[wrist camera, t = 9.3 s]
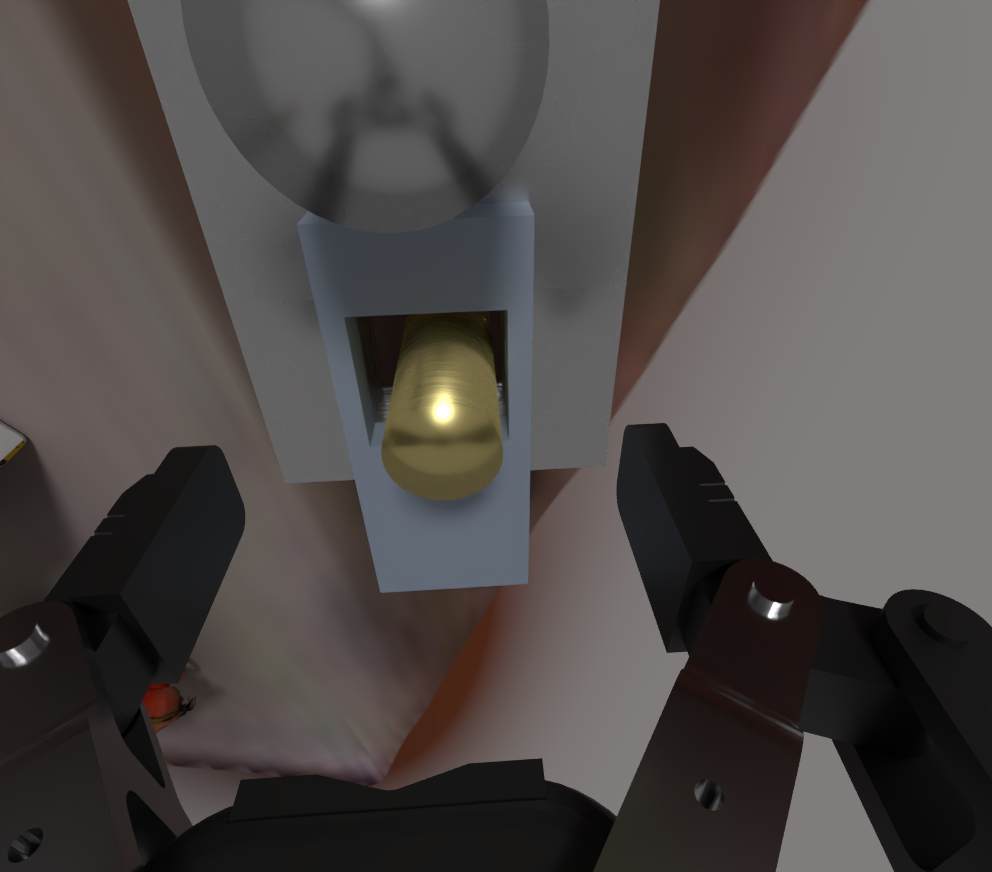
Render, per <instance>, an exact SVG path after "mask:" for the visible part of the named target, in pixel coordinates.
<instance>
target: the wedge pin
mask: <svg viewBox="0 0 992 872" xmlns="http://www.w3.org/2000/svg"><path fill="white" fill-rule="evenodd" d="M381 456H382V462H383V465H384V467H385V470H386V471H387V473H388V475H389V476H390V477H391V479H392V480H393V481H394V482H395V483H396V484H397V485H399V486H400V487H401V488H403V489H404V490H406V491H408V492H409V493H411V494H414V495H416V496H419V497H422V498H426V499H431V500H456V499H461V498H464V497H468V496H470V495H473V494H475V493H477V492H479V491H480V490H482V489H483V488H485V487H486V486H487V485H488V484H490V483H491V482H492V481H493V479H494V478H495V477H496V475H497V474H498V472H499V470H500V468H501V465H502V461H503V444H502V434H501V424H500V414H499V403H498V393H497V383H496V373H495V363H494V352H493V342H492V332H491V322H490V312H489V311H471V312H449V313H427V314H407V316H406V321H405V327H404V332H403V337H402V342H401V348H400V353H399V358H398V363H397V368H396V374H395V379H394V384H393V389H392V394H391V400H390V405H389V410H388V415H387V420H386V426H385V431H384V436H383V441H382V447H381Z"/></svg>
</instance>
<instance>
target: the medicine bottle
mask: <svg viewBox="0 0 992 872" xmlns="http://www.w3.org/2000/svg"><path fill="white" fill-rule="evenodd" d="M25 443H26V438H25V436H24V435H23V434H21V433H19V432H18V431H16V430H14V429H13V428H11V427H9V426H8V425H6V424H4V423H3V422H1V421H0V469H1V468H2V467H3V466H4V465H5V464H6V463H7V462H8V461H9V460H10V459H11V458H12V457H13V456H14V455H15V454H16V453H17V452H18V451H19V450H20V449H21V448H22V447H23V446H24V445H25Z"/></svg>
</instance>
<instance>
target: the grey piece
mask: <svg viewBox="0 0 992 872" xmlns="http://www.w3.org/2000/svg"><path fill="white" fill-rule="evenodd" d="M128 3H129V7H130V10H131V13H132V16H133V19H134V22H135V25H136V28H137V31H138V34H139V37H140V40H141V43H142V46H143V49H144V53H145V56H146V59H147V62H148V65H149V68H150V71H151V74H152V77H153V80H154V83H155V86H156V89H157V92H158V95H159V98H160V102H161V105H162V108H163V111H164V114H165V117H166V120H167V123H168V126H169V129H170V132H171V135H172V138H173V141H174V144H175V148H176V151H177V154H178V157H179V160H180V163H181V166H182V169H183V172H184V175H185V178H186V181H187V184H188V187H189V190H190V193H191V197H192V200H193V203H194V206H195V209H196V212H197V215H198V218H199V221H200V224H201V227H202V230H203V233H204V236H205V239H206V243H207V246H208V249H209V252H210V255H211V258H212V261H213V264H214V267H215V270H216V273H217V276H218V279H219V282H220V285H221V288H222V292H223V295H224V298H225V301H226V304H227V307H228V310H229V313H230V316H231V319H232V322H233V325H234V328H235V331H236V334H237V338H238V341H239V344H240V347H241V350H242V353H243V356H244V359H245V362H246V365H247V368H248V371H249V374H250V377H251V380H252V383H253V387H254V390H255V393H256V396H257V399H258V402H259V405H260V408H261V411H262V414H263V417H264V420H265V423H266V426H267V429H268V433H269V436H270V439H271V442H272V445H273V448H274V451H275V454H276V457H277V460H278V463H279V466H280V469H281V472H282V475H283V478H284V482H285V483H304V482H322V481H341V480H355V478H354V474H353V470H352V465H351V461H350V456H349V452H348V448H347V443H346V439H345V435H344V430H343V426H342V421H341V417H340V413H339V408H338V404H337V399H336V395H335V391H334V386H333V382H332V377H331V373H330V369H329V364H328V360H327V355H326V351H325V347H324V342H323V338H322V333H321V329H320V325H319V320H318V316H317V311H316V307H315V303H314V298H313V294H312V289H311V285H310V281H309V276H308V272H307V267H306V263H305V259H304V254H303V250H302V245H301V241H300V237H299V232H298V228H297V224H298V223H299V221H300V220H301V219H302V218H303V217H304V216H305V214H306V213H307V212H308V211H309V212H311V213H313V214H314V215H317V216H319V217H321V218H324V219H326V220H328V221H331V222H333V223H335V224H339V225H342V226H346V227H349V228H353V229H357V230H363V231H370V232H379V233H399V232H408V231H416V230H420V229H424V228H428V227H432V226H435V225H438V224H440V223H443V222H445V221H448V220H450V219H452V218H454V217H456V216H458V215H459V214H461V213H463V212H465V211H466V210H468V209H470V208H471V207H472V206H474V205H475V204H479V203H505V202H529V203H530V206H531V208H532V210H533V213H534V215H535V225H534V283H533V341H532V399H531V457H530V470H544V469H562V468H581V467H597V466H598V467H599V466H605V458H606V450H607V441H608V433H609V424H610V416H611V407H612V399H613V391H614V382H615V374H616V365H617V357H618V349H619V340H620V332H621V323H622V315H623V306H624V298H625V290H626V281H627V273H628V264H629V256H630V248H631V239H632V231H633V222H634V214H635V205H636V197H637V189H638V180H639V172H640V163H641V155H642V147H643V138H644V130H645V121H646V113H647V104H648V96H649V88H650V79H651V71H652V62H653V54H654V46H655V37H656V29H657V20H658V12H659V3H660V0H128ZM356 321H357V326H358V332H359V337H360V343H361V348H362V354H363V359H364V364H365V370H366V375H367V381H368V386H369V392H370V397H371V402H372V408H373V413H374V419H375V423H380V422H386V420H387V415H388V410H389V405H390V400H391V394H392V389H393V387H383V386H382V380H381V374H380V368H379V362H378V356H377V350H376V344H375V338H374V332H373V326H372V320H371V316H359V317H356ZM500 330H501V382H496V383H497V393H498V403H499V414H500V416H506V387H505V321H504V310H500Z"/></svg>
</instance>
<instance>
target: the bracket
mask: <svg viewBox="0 0 992 872" xmlns="http://www.w3.org/2000/svg"><path fill="white" fill-rule="evenodd" d="M534 225H535V215H534V213H533V210H532V208H531V206H530V203H529V202H505V203H479V204H475V205H474V206H472V207H471V208H470V209H468V210H466V211H465V212H463V213H461V214H459V215H458V216H456V217H454V218H452V219H450V220H448V221H445V222H443V223H440V224H438V225H435V226H432V227H428V228H424V229H420V230H416V231H408V232H399V233H379V232H370V231H363V230H357V229H353V228H349V227H346V226H342V225H339V224H335V223H333V222H331V221H328V220H326V219H324V218H321V217H319V216H317V215H314V214H313V213H311V212H309V211H308V212H307V213H306V214H305V216H304V217H303V218H302V219H301V220H300V221H299V223H298V224H297V228H298V232H299V237H300V241H301V245H302V250H303V254H304V259H305V263H306V267H307V272H308V276H309V281H310V285H311V289H312V294H313V298H314V303H315V307H316V311H317V316H318V320H319V325H320V329H321V333H322V338H323V342H324V347H325V351H326V355H327V360H328V364H329V369H330V373H331V377H332V382H333V386H334V391H335V395H336V399H337V404H338V408H339V413H340V417H341V421H342V426H343V430H344V435H345V439H346V443H347V448H348V452H349V456H350V461H351V465H352V470H353V474H354V478H355V483H356V487H357V492H358V496H359V500H360V505H361V509H362V514H363V518H364V522H365V527H366V531H367V536H368V540H369V544H370V549H371V553H372V558H373V562H374V566H375V571H376V575H377V580H378V584H379V588H380V593H386V592H402V591H418V590H435V589H451V588H468V587H484V586H501V585H517V584H528V574H529V573H528V572H529V569H528V568H529V516H530V457H531V399H532V341H533V283H534ZM494 310H504V321H505V387H506V416H500V424H501V434H502V444H503V461H502V465H501V468H500V470H499V472H498V474H497V475H496V477H495V478H494V479H493V481H492V482H491V483H490V484H488V485H487V486H486V487H485V488H483V489H482V490H480V491H479V492H477V493H475V494H473V495H470V496H468V497H464V498H461V499H456V500H431V499H426V498H422V497H419V496H416V495H414V494H411V493H409V492H408V491H406V490H404V489H403V488H401V487H400V486H399V485H397V484H396V483H395V482H394V481H393V480H392V479H391V477H390V476H389V475H388V473H387V471H386V470H385V467H384V465H383V462H382V456H381V447H382V441H383V436H384V431H385V426H386V422H380V423H375V419H374V413H373V408H372V402H371V397H370V392H369V386H368V381H367V375H366V370H365V364H364V359H363V354H362V348H361V343H360V337H359V332H358V326H357V321H356V317H359V316H382V315H404V314H427V313H449V312H471V311H494Z"/></svg>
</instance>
